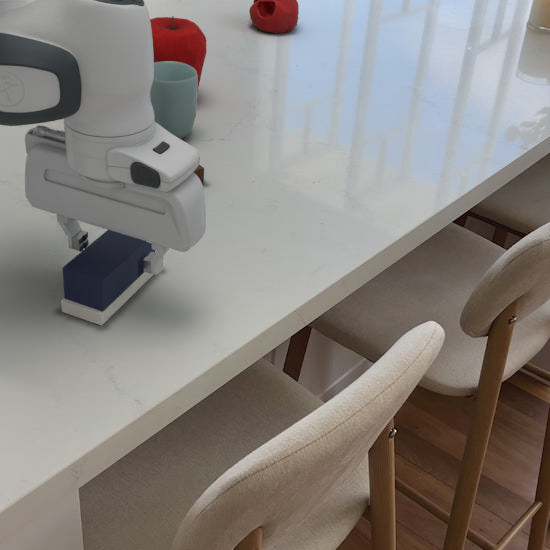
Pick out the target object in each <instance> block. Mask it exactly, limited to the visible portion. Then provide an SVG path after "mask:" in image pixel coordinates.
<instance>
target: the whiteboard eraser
mask: <svg viewBox="0 0 550 550" xmlns="http://www.w3.org/2000/svg"><path fill="white" fill-rule="evenodd" d="M151 252H155V253H156V251H155V250H153V249H152V243H151V242H147V241H144V240H141V239H137V238H134V237H131V236H128V235H124V234H121V233H118V232H114V231H111V230H108V229H106V231H104V232H103V233H102V234H101V235H100V236H98V237H97V238H96V239H95V240H94V241H93V242H91V243H90V244H88V246H87V247H86V248H85V249H83V251H81V252H79V253H78V254H77V255H76V256H75V257H73V258H72V259H71V260H69V261H68V262H67V263H66V264H65V265H63V266H62V283H63V296H64V297H63V298H62V300H61V301H60V306H61V313H65V314H67V315H70V316H73V317H76V318H78V319H82V320H84V321H86V322H90V323H93V324H96V325H99V326H103V325H104V324H105V323H106V322H107V321H108V320H109V319H110V318H111V317H112V316H113V315H114V314H115V313H116V312H118V311H119V309H120V308H121V307H122V306H123V305H125V304H126V302H128V300H130V298H132V297H133V295H134V294H136V293H137V291H139V290H140V289H141V288H142V287H143V286H144V285H145V284H146V283H147V282H148V281H149V280H150V279H151V278H152V277H153V276H154V275H153V274H150V273H147V272H144V270H143V268H144V265H143V259H144V258H145V257H147V256H148V254H150V253H151Z"/></svg>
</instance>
